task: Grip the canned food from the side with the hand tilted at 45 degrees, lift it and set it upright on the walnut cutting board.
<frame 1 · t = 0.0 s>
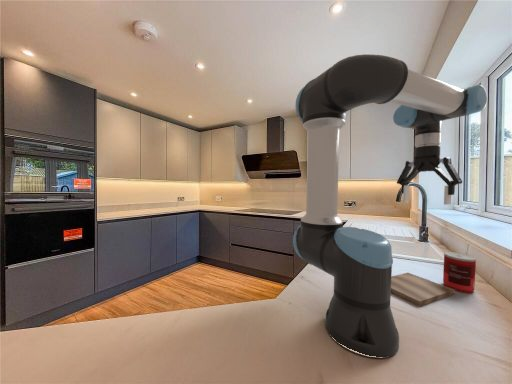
hand: (425, 202, 79), 28 cm above the countertop, tool pointing down, fingers open, 13 cm apart
walnut board: (412, 289, 69), on the countertop
canned food: (458, 288, 71), on the countertop
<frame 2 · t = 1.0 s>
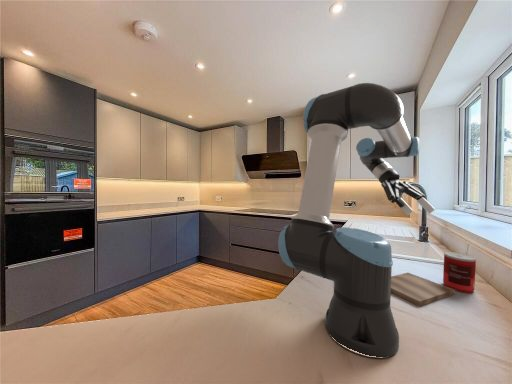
hand: (421, 212, 81), 24 cm above the countertop, tool tilted 45°, fingers open, 13 cm apart
nothing on the countertop moved.
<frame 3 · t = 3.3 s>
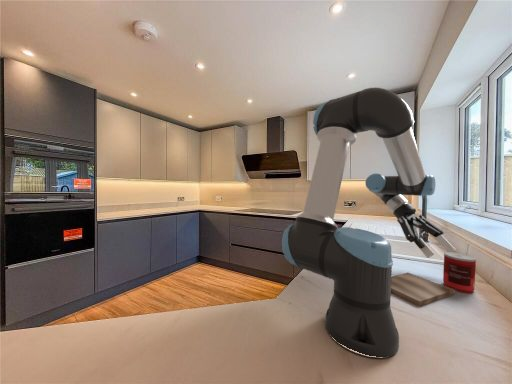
hand: (442, 253, 76), 10 cm above the countertop, tool tilted 45°, fingers open, 13 cm apart
nothing on the countertop moved.
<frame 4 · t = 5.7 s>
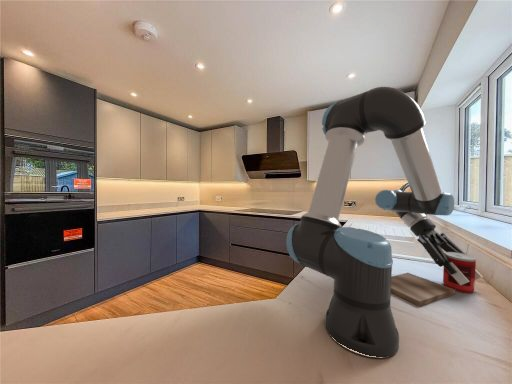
hand: (471, 281, 68), 4 cm above the countertop, tool tilted 45°, fingers closed on canned food, 8 cm apart
canned food: (458, 288, 71), on the countertop, touching gripper
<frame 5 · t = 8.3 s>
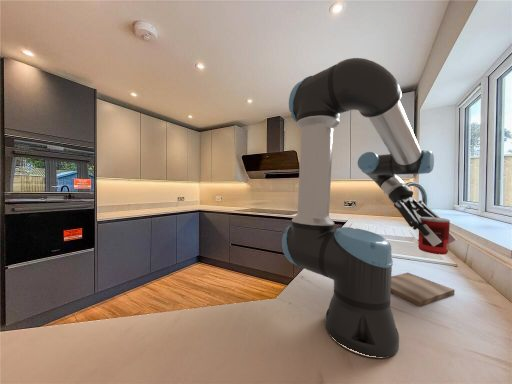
hand: (445, 242, 67), 16 cm above the countertop, tool tilted 45°, fingers closed on canned food, 8 cm apart
canned food: (432, 251, 70), point 12 cm above the countertop, touching gripper
when the fingers open (7 cm above the countertop, at t = 11.1 s): canned food drops 1 cm, resting on walnut board.
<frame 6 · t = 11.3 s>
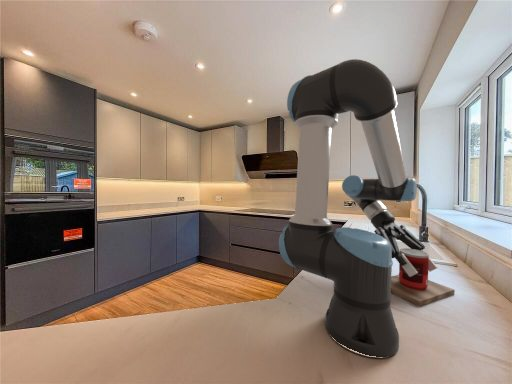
hand: (424, 272, 66), 7 cm above the countertop, tool tilted 45°, fingers open, 10 cm apart
canned food: (412, 285, 69), point 1 cm above the countertop, touching walnut board
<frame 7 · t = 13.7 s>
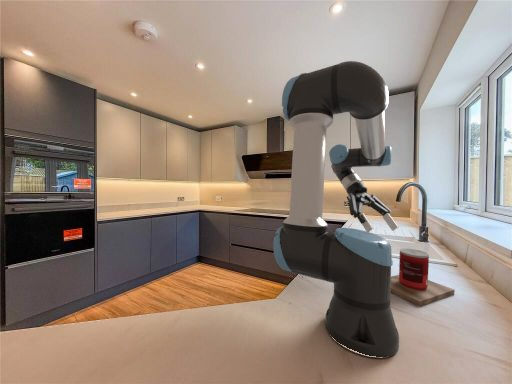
hand: (383, 229, 78), 18 cm above the countertop, tool tilted 40°, fingers open, 13 cm apart
nothing on the countertop moved.
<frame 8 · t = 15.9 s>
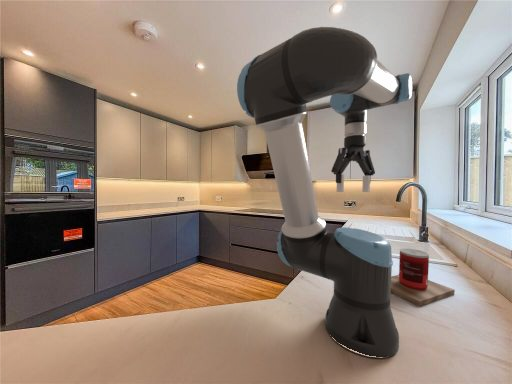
hand: (353, 192, 80), 32 cm above the countertop, tool pointing down, fingers open, 13 cm apart
nothing on the countertop moved.
at the end: canned food inside the target area on the walnut board (0.1 cm from its centre), point 1.3 cm above the walnut board's base; canned food tilted 0°; the gripper is holding nothing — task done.
